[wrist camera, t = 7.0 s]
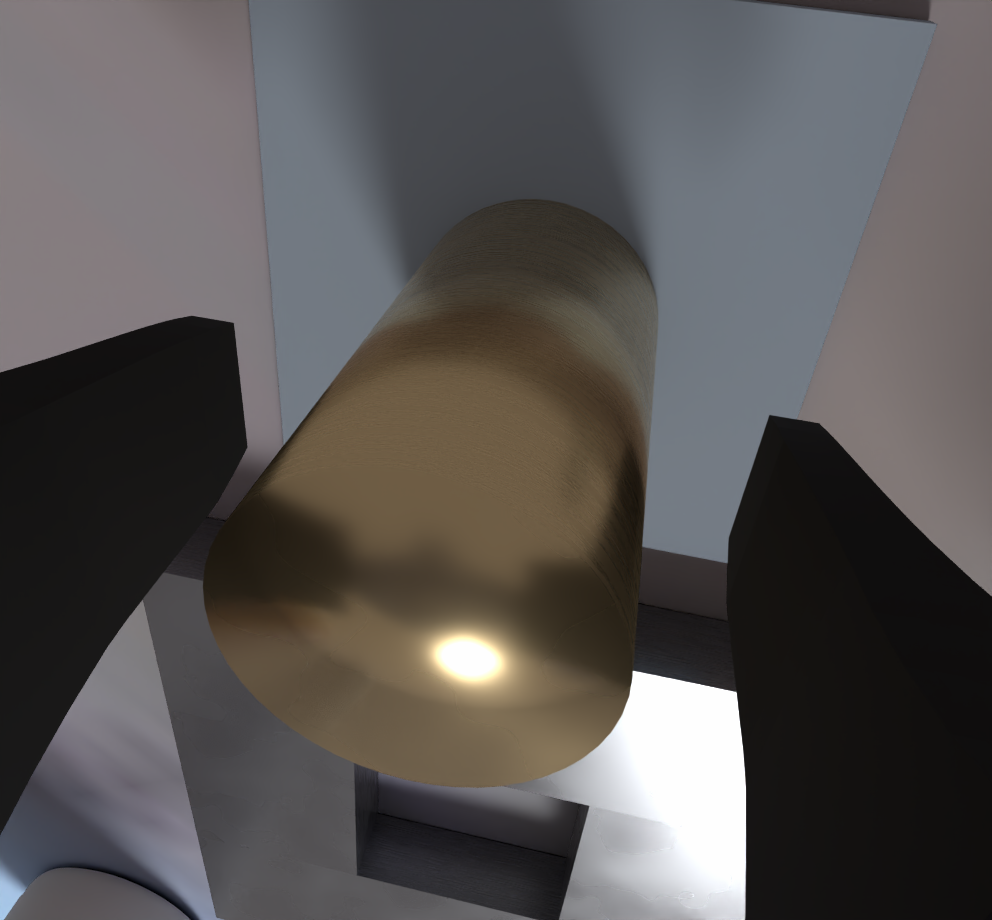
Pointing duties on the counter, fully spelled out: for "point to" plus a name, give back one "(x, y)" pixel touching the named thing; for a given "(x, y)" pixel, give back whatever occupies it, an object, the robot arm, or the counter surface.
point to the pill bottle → (89, 898)
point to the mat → (589, 185)
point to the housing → (446, 854)
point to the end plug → (460, 515)
